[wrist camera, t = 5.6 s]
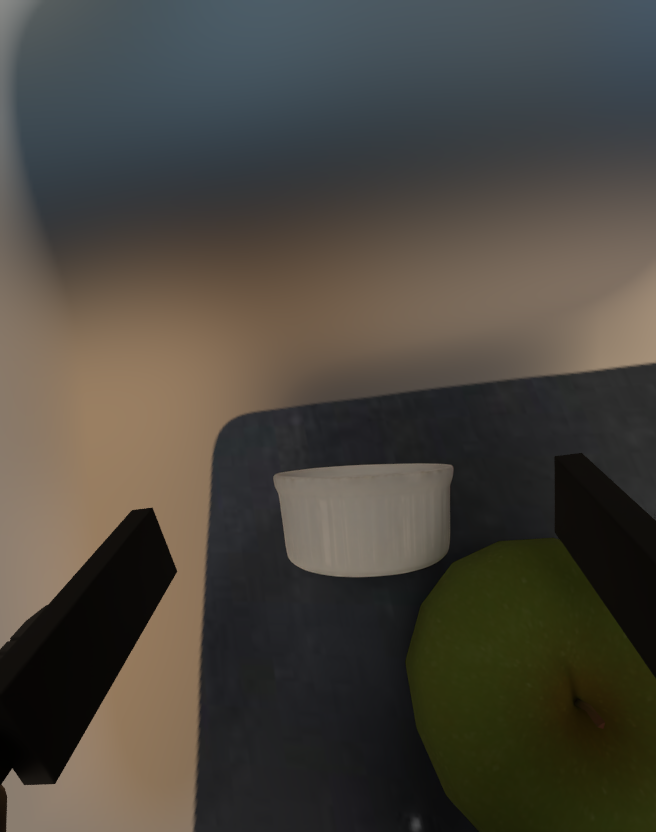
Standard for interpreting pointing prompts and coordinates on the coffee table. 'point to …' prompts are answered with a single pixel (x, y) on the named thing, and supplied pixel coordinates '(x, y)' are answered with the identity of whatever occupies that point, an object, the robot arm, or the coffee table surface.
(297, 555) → the ramekin
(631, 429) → the coffee table surface
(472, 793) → the apple
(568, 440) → the coffee table surface
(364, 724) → the coffee table surface
